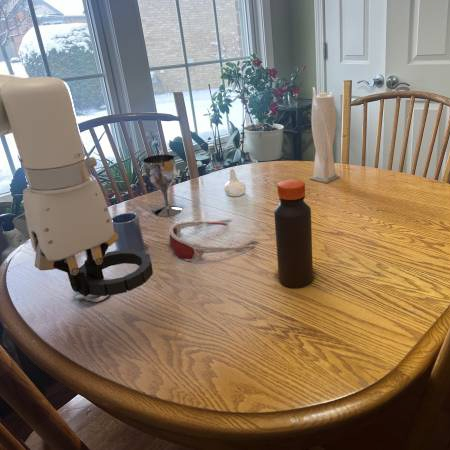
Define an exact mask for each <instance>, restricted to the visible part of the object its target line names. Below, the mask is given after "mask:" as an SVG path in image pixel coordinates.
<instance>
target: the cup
mask: <svg viewBox="0 0 450 450" xmlns="http://www.w3.org/2000/svg"><path fill="white" fill-rule="evenodd" d="M111 219H112V223H113V229H114V231H115V232H116V233H117V235H118V236H119V238H118V240H117V241H115V242H114V244H115V248H116V251H117V250H125V249H127V250H139V251H142V252H144V253H146V254H147V252H146V245H145V241H144V236H143V232H142V231H143V230H142V226H141V223H140V217H139V215H138V213H135V212H123V213H120V214H116V215H114V216H112V217H111Z"/></svg>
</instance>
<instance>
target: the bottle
mask: <svg viewBox="0 0 450 450" xmlns="http://www.w3.org/2000/svg"><path fill="white" fill-rule="evenodd" d="M277 197H278V200H279V203H278V204H277V205H276V207H275V208H274V210H273V211H274V212H273V215H274V230H275V231H274V232H275V243H276V258H277V272H278V282H280V284H281V285H283V286H284V287H287V288H291V289H296V288H297V289H298V288H303V287H306V286H308V285H309V284H311V282H312V281H313V279H314V266H313V265H314V264H313V263H314V262H313V233H312V231H313V230H312V209H311V207H310V205H309V204H308V203H306V202H305V198H306V183H305V182H304V181H303V180H300V179H294V178H293V179H285V180H281V181H279V182H278V183H277Z"/></svg>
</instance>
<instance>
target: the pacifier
mask: <svg viewBox="0 0 450 450" xmlns="http://www.w3.org/2000/svg"><path fill="white" fill-rule="evenodd" d="M108 297H110V296H109V295H107V296H97V295H91V294H89V295H88V296H83V295H82V294H80V293H78V294H77V295H76V296H75V300H83V299H84V300H85V301H89V302H95V303H96V302H97V303H98V302H102V301H104V300H105V299H107V298H108Z"/></svg>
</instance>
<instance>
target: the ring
mask: <svg viewBox="0 0 450 450" xmlns="http://www.w3.org/2000/svg"><path fill="white" fill-rule="evenodd" d="M122 264H123V265H124V264H128V265H137V266H138V267H137V268H136V269H135V270H134V271H132V272H130V273H128V274H126V275H124V276H121V277H116V278H111V279H103V280H99V279H93V278H92V277H90V276H88V275H87V273H86V269H85V265H84V263H83V264H82V265H81V266H79V269H80V270H81V271H82V272H83V273H84V274H85V278H86V282H87V285H88V289H89V294H91V295H97V296H98V297H100V296H107V295H109V296H108V297H111V296H115V295H119V294H125V293H128V292H130V291H133V290H135V289H136V288H139V287H140V286H143V285H144V284H146V283H147V282H148V281H149V279H150V278H151V277H152V276H153V275H154V274H153V273H154V271H153V270H154V269H153V265H152V259H151V255H150V254H148V253H147V252H146V253H144V252H142V251H139V250H127V249H125V250H117V249H116V250H113V251H106V253H105V254H104V256H103V262H102V263H101V268H102V270H105V269H107V268H109V267H113V266H117V265H118V266H119V265H122Z"/></svg>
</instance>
